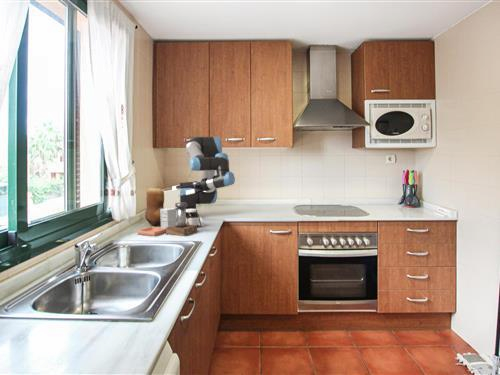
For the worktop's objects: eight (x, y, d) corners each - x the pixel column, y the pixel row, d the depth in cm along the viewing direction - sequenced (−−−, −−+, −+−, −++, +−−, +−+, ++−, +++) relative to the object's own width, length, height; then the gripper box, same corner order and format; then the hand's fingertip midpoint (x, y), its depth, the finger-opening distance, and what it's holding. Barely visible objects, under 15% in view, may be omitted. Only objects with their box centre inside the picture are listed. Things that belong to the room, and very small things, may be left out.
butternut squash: (170, 224, 243) (169, 187, 241) (156, 228, 232) (154, 189, 230) (155, 222, 250) (154, 186, 248) (140, 226, 239) (139, 188, 237)
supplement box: (169, 226, 237) (169, 207, 236) (177, 227, 232) (176, 208, 231) (160, 228, 231) (159, 208, 230) (167, 229, 226) (167, 209, 225)
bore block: (179, 230, 225) (179, 223, 224) (197, 232, 219) (197, 225, 219) (166, 234, 213) (166, 227, 213) (184, 236, 207) (184, 229, 207)
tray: (152, 230, 224) (152, 226, 224) (168, 232, 218) (168, 228, 218) (137, 234, 212) (137, 230, 212) (154, 236, 207) (154, 232, 207)
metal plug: (180, 231, 221) (180, 202, 219) (190, 232, 218) (189, 202, 216) (173, 233, 214) (172, 203, 213) (183, 234, 211) (182, 204, 210)
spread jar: (181, 227, 235) (181, 209, 234) (195, 224, 243) (195, 207, 242) (193, 229, 227) (192, 211, 226) (207, 227, 235) (207, 209, 234)
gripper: (198, 185, 199) (166, 193, 207) (220, 193, 221) (191, 200, 229) (197, 172, 201) (166, 180, 209) (219, 181, 223) (190, 188, 231)
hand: (179, 190), depth 219 cm, fingers open, 13 cm apart
